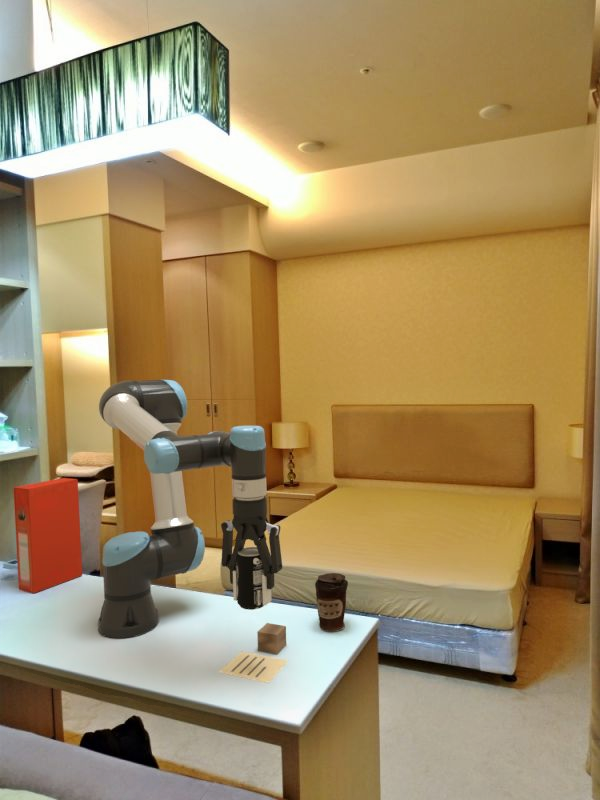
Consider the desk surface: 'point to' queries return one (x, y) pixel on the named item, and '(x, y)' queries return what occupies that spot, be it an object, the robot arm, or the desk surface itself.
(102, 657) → the desk surface
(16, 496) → the file binder
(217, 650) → the desk surface
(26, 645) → the desk surface
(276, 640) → the walnut block
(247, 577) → the beverage can
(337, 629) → the coffee cup
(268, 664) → the letter
